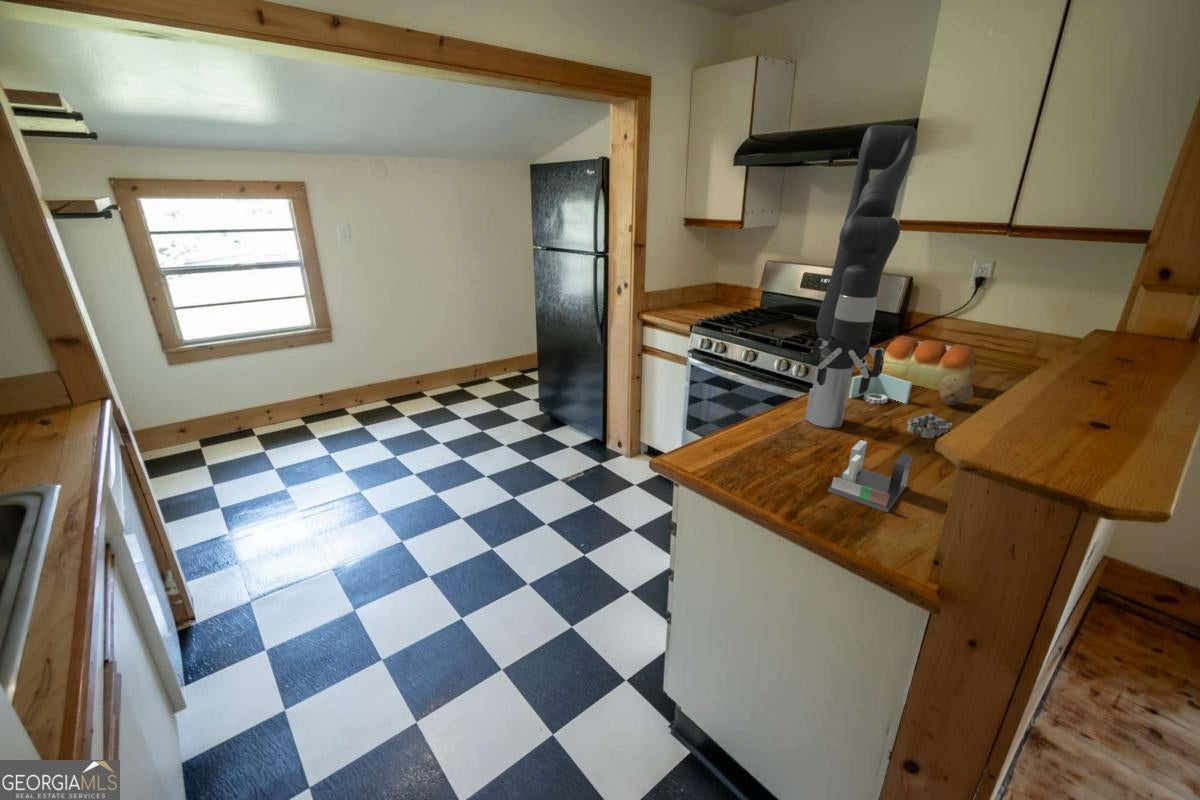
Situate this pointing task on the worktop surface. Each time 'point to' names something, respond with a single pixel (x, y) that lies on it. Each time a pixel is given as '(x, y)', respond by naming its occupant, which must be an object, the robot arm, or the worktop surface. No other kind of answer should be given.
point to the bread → (926, 361)
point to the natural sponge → (955, 389)
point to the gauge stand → (875, 485)
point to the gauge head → (858, 450)
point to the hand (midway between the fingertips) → (840, 388)
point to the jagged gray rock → (928, 426)
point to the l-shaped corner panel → (882, 389)
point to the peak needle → (853, 468)
